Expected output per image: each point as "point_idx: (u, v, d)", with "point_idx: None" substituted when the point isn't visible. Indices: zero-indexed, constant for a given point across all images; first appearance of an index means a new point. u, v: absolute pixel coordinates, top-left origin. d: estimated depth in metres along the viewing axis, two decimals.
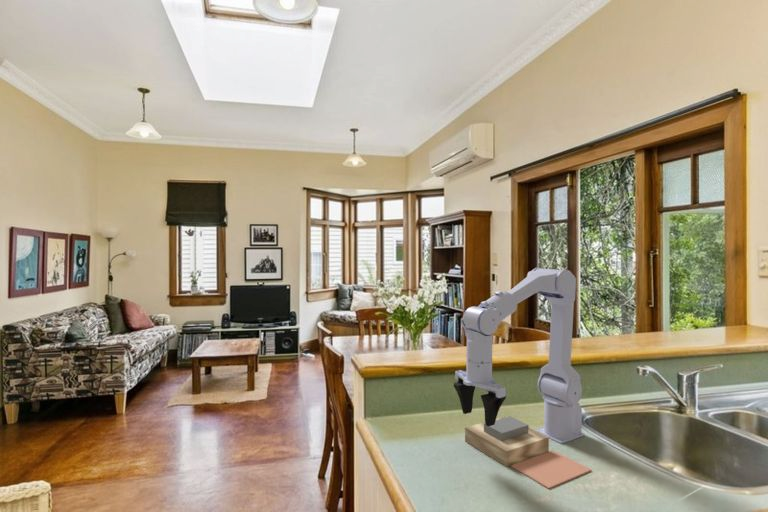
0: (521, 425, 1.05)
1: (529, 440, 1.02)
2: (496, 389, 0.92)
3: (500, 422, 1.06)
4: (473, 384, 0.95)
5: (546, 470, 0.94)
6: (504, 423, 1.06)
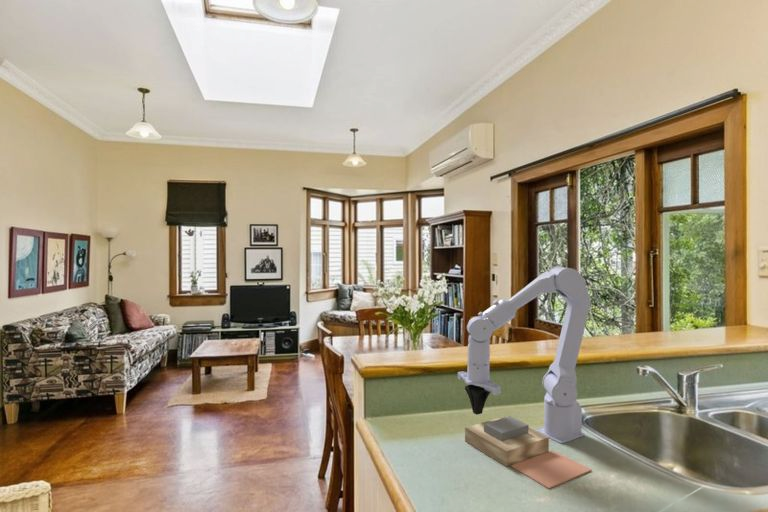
0: (521, 425, 1.05)
1: (529, 440, 1.02)
2: (493, 388, 1.08)
3: (500, 422, 1.06)
4: (473, 383, 1.11)
5: (546, 470, 0.94)
6: (504, 423, 1.06)
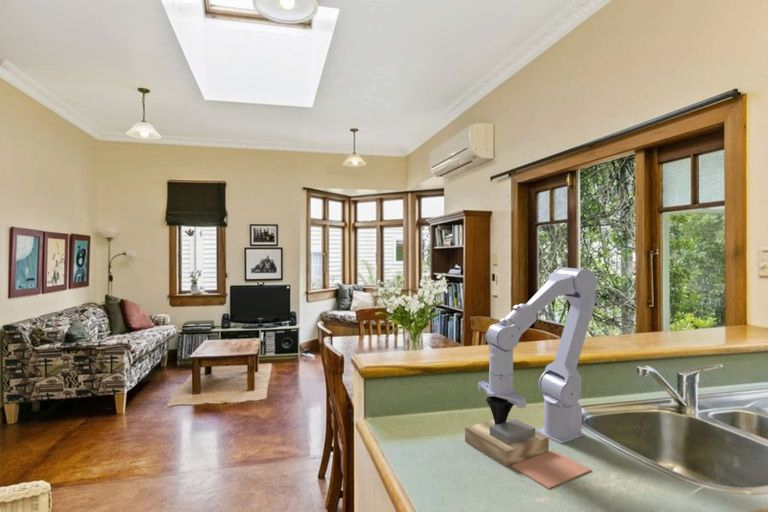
0: (528, 428, 1.03)
1: (529, 440, 1.02)
2: (517, 400, 1.01)
3: (506, 425, 1.05)
4: (496, 395, 1.04)
5: (546, 470, 0.94)
6: (510, 426, 1.04)
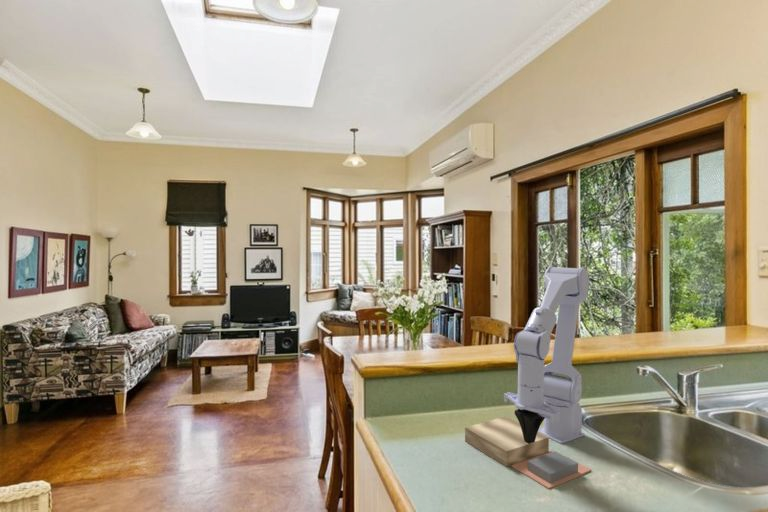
0: None
1: None
2: (551, 414, 0.93)
3: None
4: (526, 408, 0.96)
5: None
6: None
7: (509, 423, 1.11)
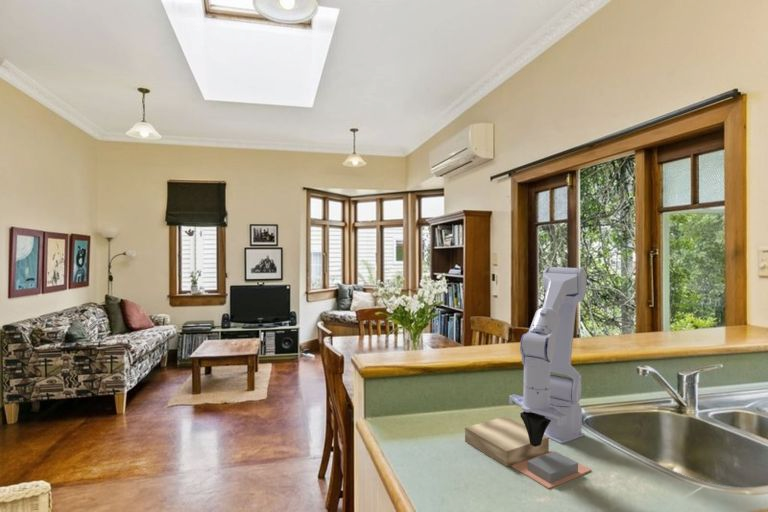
0: None
1: None
2: (557, 417, 0.91)
3: None
4: (532, 411, 0.95)
5: None
6: None
7: (509, 423, 1.11)
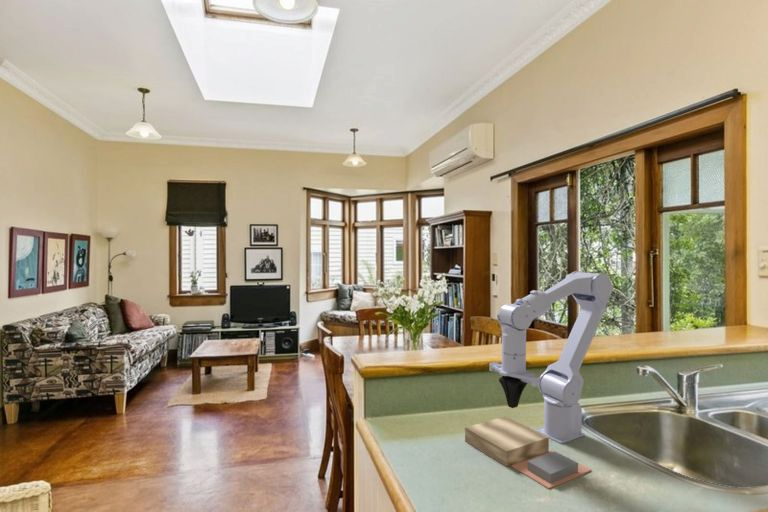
0: None
1: (529, 440, 1.02)
2: (532, 379, 1.00)
3: None
4: (509, 374, 1.04)
5: None
6: None
7: (509, 423, 1.11)
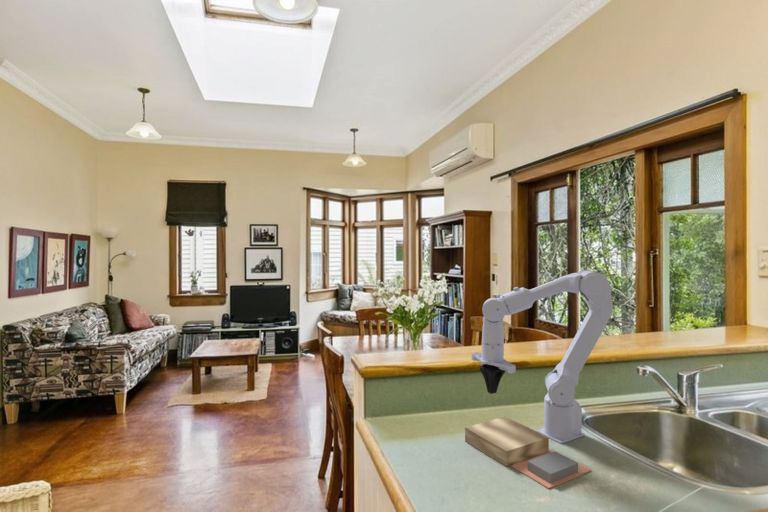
0: None
1: (529, 440, 1.02)
2: (508, 366, 1.10)
3: None
4: (488, 363, 1.14)
5: None
6: None
7: (509, 423, 1.11)
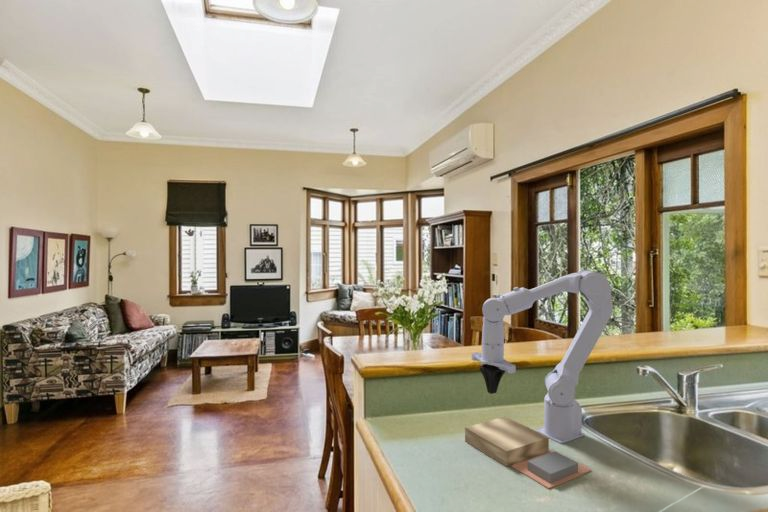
0: None
1: (529, 440, 1.02)
2: (508, 366, 1.10)
3: None
4: (488, 363, 1.14)
5: None
6: None
7: (509, 423, 1.11)
